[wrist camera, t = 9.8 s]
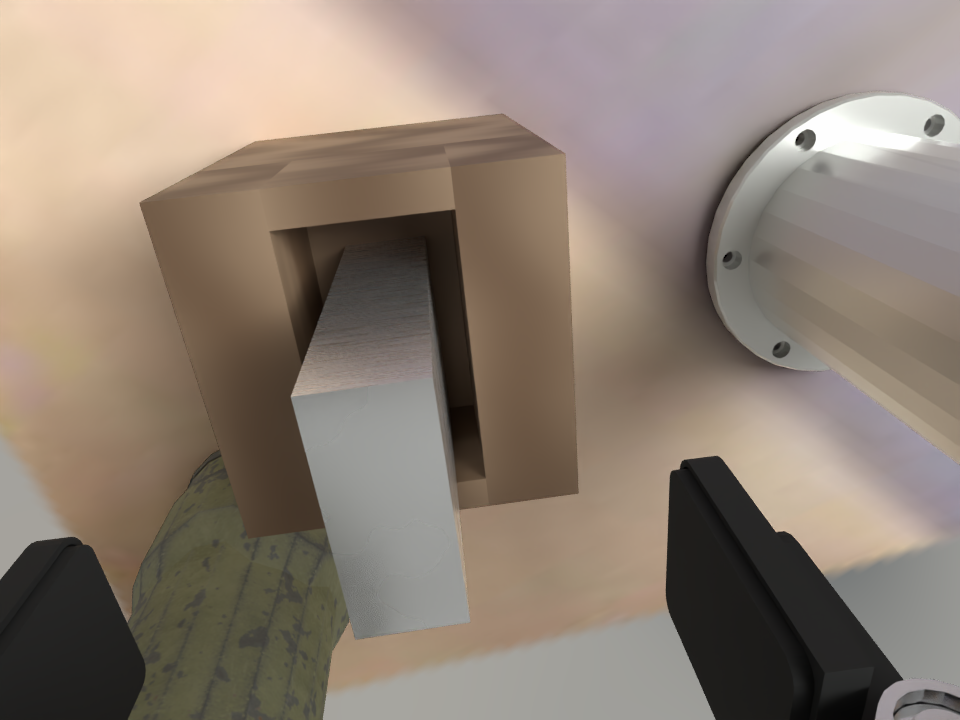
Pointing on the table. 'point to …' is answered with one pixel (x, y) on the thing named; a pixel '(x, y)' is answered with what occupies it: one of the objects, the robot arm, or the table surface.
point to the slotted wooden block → (311, 270)
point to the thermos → (233, 614)
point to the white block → (384, 442)
